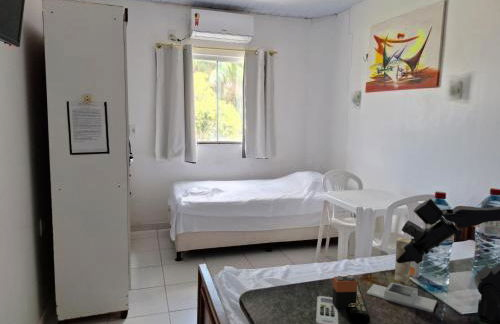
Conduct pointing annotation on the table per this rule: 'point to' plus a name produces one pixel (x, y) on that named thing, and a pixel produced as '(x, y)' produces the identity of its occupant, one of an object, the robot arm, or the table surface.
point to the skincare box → (414, 269)
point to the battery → (344, 291)
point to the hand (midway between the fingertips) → (398, 260)
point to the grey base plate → (402, 296)
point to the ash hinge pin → (402, 268)
